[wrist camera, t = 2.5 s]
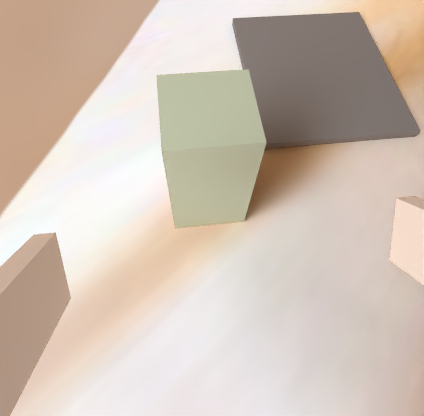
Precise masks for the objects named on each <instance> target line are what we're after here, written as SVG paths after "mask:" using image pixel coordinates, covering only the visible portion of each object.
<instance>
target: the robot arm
mask: <svg viewBox="0 0 424 416" xmlns="http://www.w3.org/2000/svg"><path fill="white" fill-rule="evenodd" d="M390 261H391V262H392V263H394V264H395V265H396V266H398V267H399V268H401V269H402V270H403V271H405V272H406V273H407V274H409V275H410V276H411V277H413V278H414V279H415V280H417V281H418V282H420V283H421V284H422V285H424V200H423V199H420V198H418V197H415V196H412V197H402V198H396V207H395V215H394V224H393V233H392V242H391V251H390ZM70 299H71V297H70V292H69V288H68V284H67V280H66V275H65V271H64V267H63V262H62V258H61V254H60V250H59V245H58V241H57V237H56V233H48V234H38V235H33V236H32V237H31V238H30V239H29V240H28V241H27V242H26V243H25V244H24V245H23V246H22V247H21V248H20V249H19V250H17V251H16V252H15V253H14V254H13V255H12V256H11V257H10V258H9V259H8V260H7V261H6V262H5V263H4V264H3V265H2V266H1V267H0V416H10V414H11V412H12V411H13V409H14V407H15V405H16V403H17V401H18V399H19V397H20V395H21V393H22V391H23V389H24V387H25V385H26V384H27V382H28V380H29V378H30V376H31V374H32V372H33V370H34V368H35V366H36V364H37V362H38V360H39V358H40V356H41V355H42V353H43V351H44V349H45V347H46V345H47V343H48V341H49V339H50V337H51V335H52V333H53V331H54V329H55V328H56V326H57V324H58V322H59V320H60V318H61V316H62V314H63V312H64V310H65V308H66V306H67V304H68V302H69V301H70Z"/></svg>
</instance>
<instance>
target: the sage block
mask: <svg viewBox="0 0 424 416" xmlns="http://www.w3.org/2000/svg"><path fill="white" fill-rule="evenodd" d="M157 88H158V103H159V117H160V132H161V147H162V155H163V161H164V167H165V172H166V178H167V184H168V190H169V195H170V201H171V207H172V213H173V218H174V224H175V229H176V228H186V227H196V226H206V225H216V224H226V223H236V222H244V220H245V217H246V213H247V210H248V206H249V203H250V199H251V196H252V192H253V189H254V185H255V181H256V178H257V174H258V171H259V167H260V164H261V160H262V157H263V153H264V150H265V146H266V138H265V134H264V130H263V126H262V122H261V118H260V114H259V110H258V106H257V102H256V98H255V94H254V89H253V85H252V81H251V77H250V73H249V69H247V70H231V71H215V72H199V73H184V74H168V75H157Z"/></svg>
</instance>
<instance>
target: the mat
mask: <svg viewBox="0 0 424 416" xmlns="http://www.w3.org/2000/svg"><path fill="white" fill-rule="evenodd" d="M232 25H233V29H234V33H235V38H236V42H237V46H238V50H239V55H240V59H241V63H242V67H243V70H247V69H249V73H250V77H251V81H252V85H253V89H254V94H255V98H256V102H257V106H258V110H259V114H260V118H261V122H262V126H263V130H264V134H265V138H266V146H265V149H268V148H280V147H292V146H304V145H316V144H328V143H340V142H352V141H365V140H377V139H389V138H401V137H413V136H416V135H417V134H418V133H419V132H420V130H419V128H418V126H417V124H416V122H415V120H414V118H413V116H412V114H411V112H410V111H409V109H408V107H407V105H406V103H405V101H404V99H403V97H402V95H401V93H400V91H399V89H398V87H397V85H396V83H395V81H394V79H393V77H392V75H391V74H390V72H389V70H388V68H387V66H386V64H385V62H384V60H383V58H382V56H381V54H380V52H379V50H378V48H377V46H376V44H375V42H374V40H373V38H372V36H371V35H370V33H369V31H368V29H367V27H366V25H365V23H364V21H363V19H362V17H361V15H360V13H359V12H353V13H333V14H312V15H292V16H272V17H251V18H233V24H232Z"/></svg>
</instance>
